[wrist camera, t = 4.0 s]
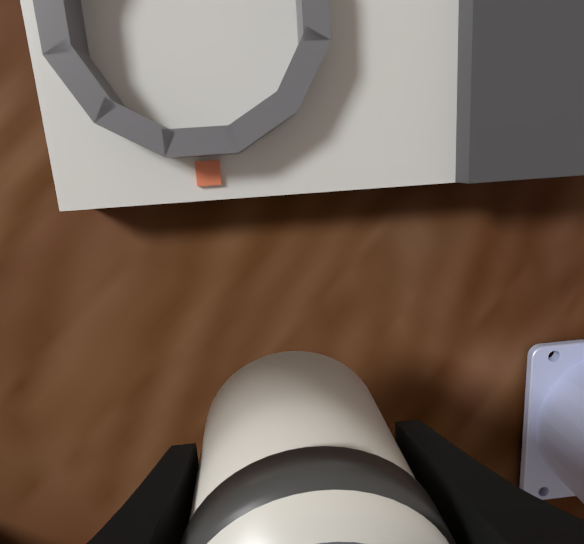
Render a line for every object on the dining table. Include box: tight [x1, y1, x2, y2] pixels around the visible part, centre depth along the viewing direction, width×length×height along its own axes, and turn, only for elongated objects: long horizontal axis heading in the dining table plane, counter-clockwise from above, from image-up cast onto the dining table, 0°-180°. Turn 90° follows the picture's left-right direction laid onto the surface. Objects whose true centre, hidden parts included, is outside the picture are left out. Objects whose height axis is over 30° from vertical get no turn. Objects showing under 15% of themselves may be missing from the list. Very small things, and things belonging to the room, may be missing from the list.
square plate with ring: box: [20, 0, 584, 211], centre depth 15 cm, size 18×11×4 cm, turn 94°
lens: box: [180, 351, 456, 544], centre depth 10 cm, size 5×5×6 cm
